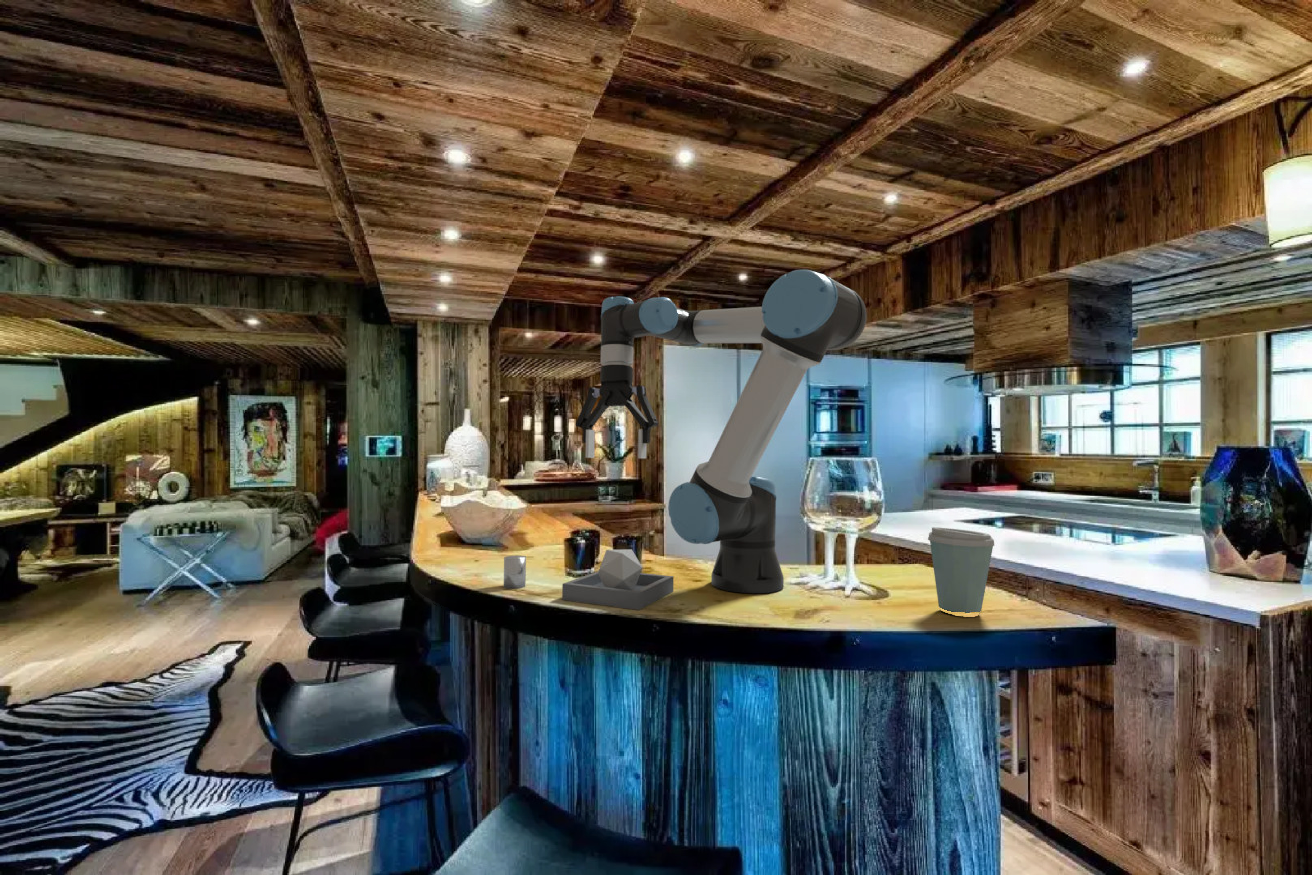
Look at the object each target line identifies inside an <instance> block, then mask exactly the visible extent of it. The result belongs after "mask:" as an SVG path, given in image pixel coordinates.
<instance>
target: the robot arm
mask: <svg viewBox="0 0 1312 875" xmlns="http://www.w3.org/2000/svg"><path fill="white" fill-rule="evenodd" d="M762 300H763V301H762V305H761V306H751V307H737V308H722V309H721V308H719V309H718V308H717V309H704V310H703V309H702V310H685V309H682V308H679V307H677V306H676V304H675V303H674V302H673V301H672V299H670V298H668V297H666V296H659V297H651V298H648V299H644V300H641V301H637V302H634V301H633V299H632V298H630V297H626V296H620V295H619V296H618V295H617V296H609V297H607V298H605V299H603V300H602V304H601V315H600V336H601V337H600V364H601V365H602V366H601V367H600V377H599V378H600V379H599V380H600V387H599V388H596V387H591V386H590V387H588V391H587V397H586V400H585V401H584V404H583V406H582V408H581V410H580V413H579V415H578V417H577V420H576V421H575V426H576V428H578V427H579V428H581V429H582V431H583V432H582V443H583V444H585V458H587V459H589V458H590V459H592V458H593V459H594V458H595V439H596V438H595V433H596V430H595V429H593V428H594V426H595V424H596V423H597V422H598V421H599V419H600V418H601V417H602V415H603V414H604V413H605V412H606V410H607V409H609V408H610V407H612V408H614V407H626V408H627V410H628V411H629V413H630V414H631V415H632V416H633V417H634V419H635V420H636V421H637V423H638V425H639V426H640V428H639V429H638V438H637V440H638V441H637V442H638V443H637V448H638V449H637V450H638V451H637V455H638V456H637V458H638V459H647V451H648V450H647V445H648V444H650V443H651V430H652V429H653V428H655V427H658V426H659V421H658V418H657V417H656V414H655V411H654V410H653V408H652V405H651V403H650V401H649V399H648V397H647V388H646V386H645V385H640V384H637V385H636V386H634V385H633V383H634V368H633V366H632V365H633V364H634V339H636V338H642V337H646V336H649V337H655V338H659V339H663V340H667V341H672V342H676V343H679V344H682V345H683V344H684V345H685V346H692V347H700V346H703V345H704V344H762V351H761V352H760V354H759V356H758V359H757V360H756V363H755V365H754V367H753V368H752V371H751V372H750V375H749V377H748V379H747V382H746V384H745V385H744V387H743V388H742V392H741V394H740V396H739V397H738V400H737V402H736V404H735V406H734V407H733V410H732V411H731V414H730V416H729V418H728V420H727V423H726V424H725V427H724V428H723V431H722V433H721V435H720V437H719V439H718V441H717V443H716V444H715V447H714V449H713V451H712V453H711V456H710V458H709V459H708V461H705V462H703V463H699V464H697V466H696V468H695V470H694V472H693V474H692V476H691V478H690V481H686V482H684V483H681V484H679V485H677V486H676V487H675V488H674V490H672V492H671V494H670V496H669V500H668V516H669V517H670V524H671V526H672V528H673V530H674V531H675V533H676V534H677V536H679V537H680V538H681V539H682V540H683V541H685V542H687V543H690V544H694V545H698V544H702V545H709V544H711V543H716V542H719V550H718V553H717V557H716V559H715V562H714V565H713V569H712V572H711V585H712V587H714V588H716V589H719V590H723V591H726V592H727V591H728V592H732V593H743V594H766V593H767V594H768V593H775V592H778V591H781V590H782V589H784V587H785V586H784V585H785V584H784V579H785V578H784V574H783V571H782V568H781V565H780V562H779V558H778V555H777V551H776V516H777V515H776V513H777V511H776V510H777V509H776V506H777V504H776V503H777V494H776V484H775V483H774V481H773V480H771V479H770V478H765V477H761V476H753V474H754V472H755V470H756V468H757V466H758V464H759V463H760V461H761V459H762V457H763V455H764V453H765V452H766V449H767V447H768V445H769V443H770V442H771V440H772V438H773V436H774V434H775V431H777V428H778V427H779V424H780V423H781V420H782V418H783V417H784V415H785V413H786V411H787V409H788V407H789V405H790V404H791V401H792V400H793V397H794V395H795V394H796V392H797V390H798V388H799V386H800V384H801V382H802V380H803V378H804V377H805V374H806V373H807V370H808V369H810V368H812V367H815V366H818V365H820V364H821V362H822V361H823V359H824V357H825V355H826V353H827V351H837V350H841V349H844V348H847V347H849V346H850V345H852V344H854V342H856V341H857V340H858V339H859V338H860V337H861V335H862V333H863V332H864V329H865V328H866V324H867V318H868V317H867V316H868V314H867V308H866V305H865V303H864V300H863V299H862V298H861V296H860V295H859V294H858V293H857V292H856V291H855V290H853V289H851V288H849V287H848V286H845V285H843V284H841V283H839V281H836V280H834V279H832V278H831V277H829V276H827V275H825V274H824V273H820V272H816V271H813V270H810V269H796V270H792V271H790V272H788V273H785V274H783V275H781V276H780V277H779V278H777V279H776V280H775V281H774V282H773V283H772V284H771V285H770V287H769V288H768V289H767V291H766V293H765V295H764V298H763V299H762ZM634 394H635V396H637V397H636V398H637V399H638V402H639V404H640V406H641V409H642V411H643V412H644V415H645V416H644V415H643V413H642V411H641V410H640V409H639V407H637V405H636V403H635V402H634V400H633V399H632V396H633V395H634ZM598 397H601V398H600V399H599V401H598V400H597V399H598ZM597 401H598V402H597ZM596 402H597V404H596ZM595 405H596V406H595ZM594 407H595V408H594ZM593 408H594V409H593Z"/></svg>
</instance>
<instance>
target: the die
mask: <svg viewBox="0 0 1312 875" xmlns="http://www.w3.org/2000/svg"><path fill="white" fill-rule="evenodd" d="M642 570H643V565H642V564H641V562H640V560H639V559H638V557H637V555H636V554H635V553H634V551H633V549H626V548H625V549H606V550H605V553H604V555H603V559H602V561H601V564H600V566H599V569H598V570H597V572H598V575H599V577H600V579H601V581H602V583H603V585H604V587H608V588H616V589H625V590H633V591H634V589H635V586H636V584H637V581H638V579H639V576H640V573H642Z"/></svg>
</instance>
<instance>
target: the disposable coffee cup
mask: <svg viewBox="0 0 1312 875" xmlns="http://www.w3.org/2000/svg"><path fill="white" fill-rule="evenodd" d="M927 540H928V541H929V543H930V545H929V546H930V550H931V551H930V552H931V559H932V566H933V573H934V575H933V576H934V581H935V582H934V583H935V589H936V596H937V604H938V608H939V609H940V608H942V609H944V610H947V611H951V612H965V613H970V612H980V611H981V612H982V608H983V604H984V603H983V602H984V599H985V593H986V592H985V591H986V586H987V582H988V575H989V570H990V565H991V558H992V553H993V549H994V548H993V547H994V546H995V540H994V538H993V537H992V536H991V535H990V534H989V533H985V532H979V531H975V530H974V531H973V530H968V529H959V528H950V527H934V526H933V527H931V531H930V532H929V533H928V538H927ZM981 612H980V613H981Z"/></svg>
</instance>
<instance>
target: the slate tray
mask: <svg viewBox="0 0 1312 875" xmlns="http://www.w3.org/2000/svg"><path fill="white" fill-rule="evenodd" d="M561 585H562V588H561V589H562V593H561V596H562V597H561V598H562V601H569V602H577V603H582V604H583V603H584V604H591V605H598V606H605V607H613V608H614V607H615V608H619V609H620V608H621V609H627V610H628V609H629V610H637V611H639V610H642V609H644V608H645V607H647V606H649V605H650V604H652V603H653V604H654V602H656V601H658V600H660V599H662V598H664V597H665V596H667V595H669V594H671V593H673V592H674V576H673V575H662V574H654V573H646V572H645V573H644V572H641V573H640V576H639V579H638V581H637V584H636V586H635V589H634V591H633V590H625V589H616V588H608V587H604V585H603V583H602V581H601V579H600V577H599V575H598V571H596V572H593V573H589V574H586V575H584V576H581V577H577V578H575V579H572V580H570V581H567V582H564V583H562V584H561Z"/></svg>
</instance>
